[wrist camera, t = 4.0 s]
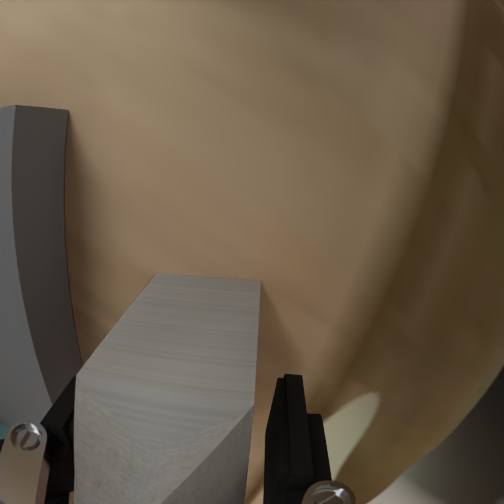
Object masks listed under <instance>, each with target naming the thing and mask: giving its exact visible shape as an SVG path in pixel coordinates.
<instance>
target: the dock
mask: <svg viewBox="0 0 504 504" xmlns="http://www.w3.org/2000/svg"><path fill="white" fill-rule="evenodd" d="M67 120H68V110H62V109H53V108H44V107H33V106H21V105H14V106H8V107H3V108H0V440H1V439H5V437H6V434H7V432H8V430H9V428H10V427H11V426H12V425H13V424H14V423H16V422H18V421H22V420H32V421H35V422H38V423H39V424H40V422H41V421H42V419H43V418H44V417H45V415H46V414H47V412H48V411H49V409H50V408H51V407H52V405H53V404H54V403H55V401H56V400H57V398H58V397H59V396H60V394H61V393H62V392H63V390H64V389H65V387H66V386H67V385H68V383H69V382H70V381H71V379H72V378H73V377H74V376H75V375H76V374H78V372H79V371H80V369H81V368H82V362H81V357H80V352H79V347H78V342H77V337H76V331H75V325H74V319H73V312H72V305H71V298H70V290H69V281H68V271H67V260H66V247H65V228H64V163H65V144H66V131H67Z"/></svg>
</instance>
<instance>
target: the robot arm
mask: <svg viewBox="0 0 504 504" xmlns="http://www.w3.org/2000/svg"><path fill="white" fill-rule="evenodd" d="M76 375H77V374H76ZM76 375H75V376H74V377H73V378H72V379H71V381H70V382H69V383H68V385H67V386H66V387H65V389H64V390H63V392H62V393H61V394H60V396H59V397H58V398H57V400H56V401H55V403H54V404H53V405H52V407H51V408H50V409H49V411H48V412H47V414H46V415H45V417H44V418H43V419H42V421H41V422H40V424H39V423H38V422H35V421H32V420H22V421H18V422H16V423H14V424H13V425H12V426H11V427H10V428H9V430H8V432H7V434H6V437H5V439H1V440H0V504H74V479H75V466H74V407H75V387H76ZM263 504H356V498H355V495H354V493H353V491H352V490H351V489H350V488H349V487H348V486H346V485H345V484H343V483H340V482H337V481H332V478H331V472H330V465H329V458H328V452H327V445H326V439H325V433H324V427H323V420H322V416H321V415H320V414H307V411H306V403H305V395H304V387H303V379H302V375H292V374H285V375H284V378H278V379H277V384H276V388H275V393H274V397H273V402H272V406H271V410H270V415H269V419H268V423H267V427H266V434H265V464H264V499H263Z"/></svg>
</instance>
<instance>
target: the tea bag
mask: <svg viewBox="0 0 504 504" xmlns="http://www.w3.org/2000/svg"><path fill="white" fill-rule="evenodd" d="M260 289H261V281H251V280H238V279H225V278H212V277H200V276H188V275H177V274H165V273H157V274H156V275H155V276H154V277H153V279H152V280H151V281H150V282H149V283H148V285H147V286H146V287H145V288H144V289H143V291H142V292H141V293H140V294H139V296H138V297H137V298H136V299H135V300H134V302H133V303H132V304H131V305H130V307H129V308H128V309H127V310H126V312H125V313H124V314H123V315H122V317H121V318H120V319H119V320H118V322H117V323H116V324H115V325H114V327H113V328H112V329H111V330H110V332H109V333H108V334H107V335H106V337H105V338H104V339H103V341H102V342H101V343H100V345H99V346H98V347H97V348H96V350H95V351H94V352H93V354H92V355H91V356H90V358H89V359H88V360H87V362H86V363H85V364H84V365H83V367H82V368H81V369H80V371H79V372H78V374H77V375H76V387H75V407H74V466H75V479H74V504H244V499H245V490H246V481H247V471H248V462H249V452H250V442H251V432H252V422H253V411H254V399H255V381H256V364H257V346H258V327H259V308H260Z"/></svg>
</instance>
